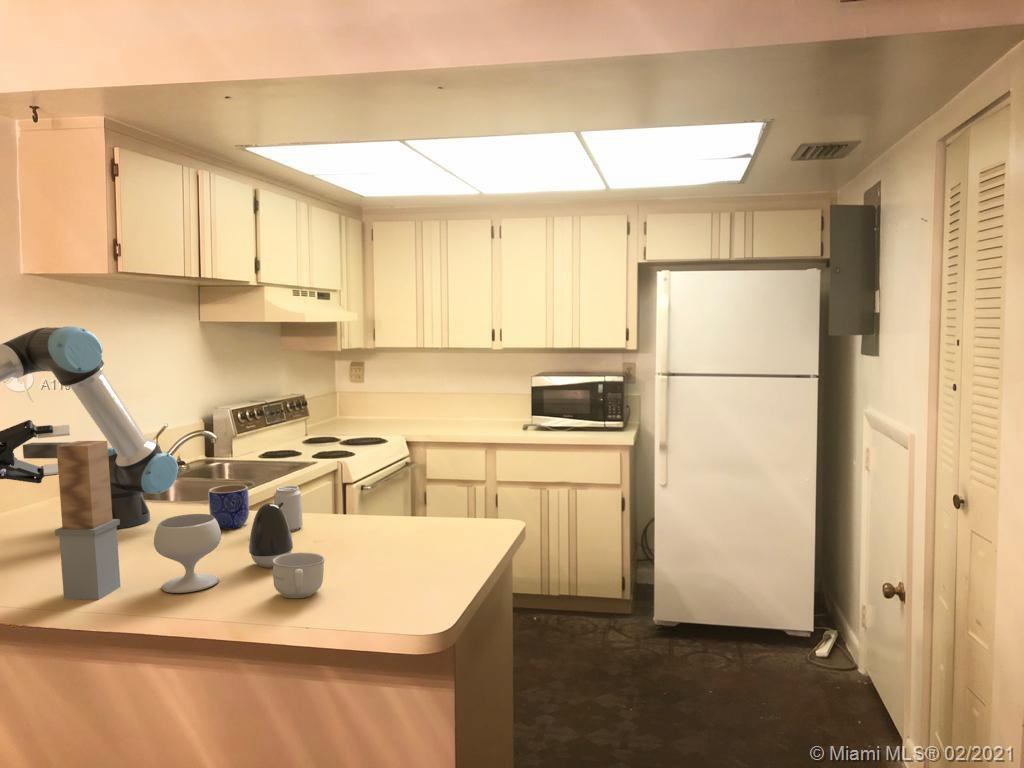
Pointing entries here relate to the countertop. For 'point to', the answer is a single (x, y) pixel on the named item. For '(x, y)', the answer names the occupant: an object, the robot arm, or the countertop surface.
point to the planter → (229, 505)
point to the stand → (89, 561)
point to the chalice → (188, 548)
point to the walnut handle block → (79, 480)
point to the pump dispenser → (269, 535)
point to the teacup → (298, 574)
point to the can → (290, 505)
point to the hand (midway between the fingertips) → (72, 448)
